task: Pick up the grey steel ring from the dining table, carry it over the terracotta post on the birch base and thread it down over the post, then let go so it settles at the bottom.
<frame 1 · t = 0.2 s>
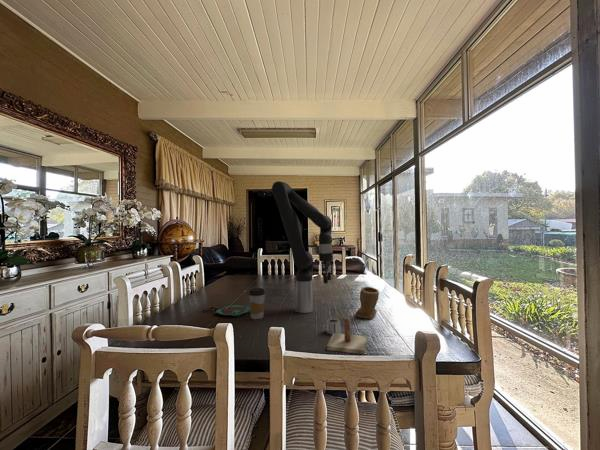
hand: (327, 281, 157), 17 cm above the table, tool pointing down, fingers open, 8 cm apart
post stand: (347, 344, 115), on the table
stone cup: (368, 316, 151), on the table
ring: (333, 332, 129), on the table
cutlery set: (227, 312, 163), on the table
coffee cup: (257, 318, 150), on the table
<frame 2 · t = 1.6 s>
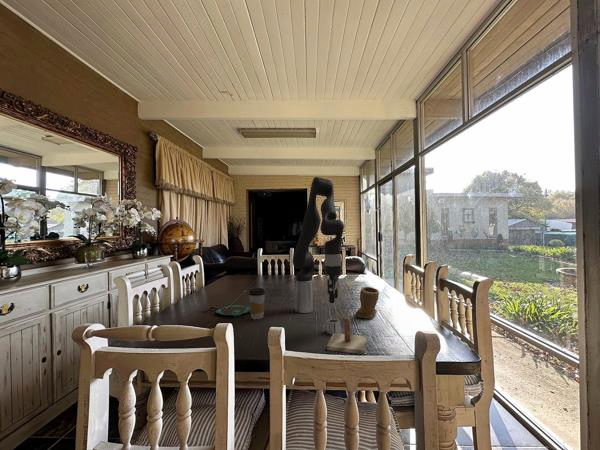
hand: (333, 300, 129), 14 cm above the table, tool pointing down, fingers open, 8 cm apart
nothing on the table moved.
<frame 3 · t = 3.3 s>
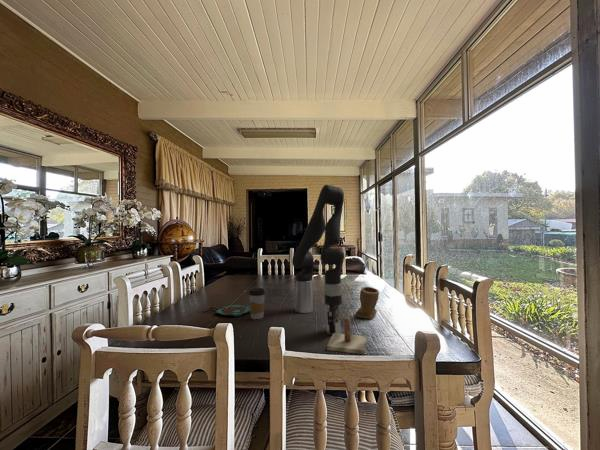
hand: (333, 330, 129), 1 cm above the table, tool pointing down, fingers closed on ring, 6 cm apart
ring: (333, 332, 129), on the table, touching gripper
everything else where it was.
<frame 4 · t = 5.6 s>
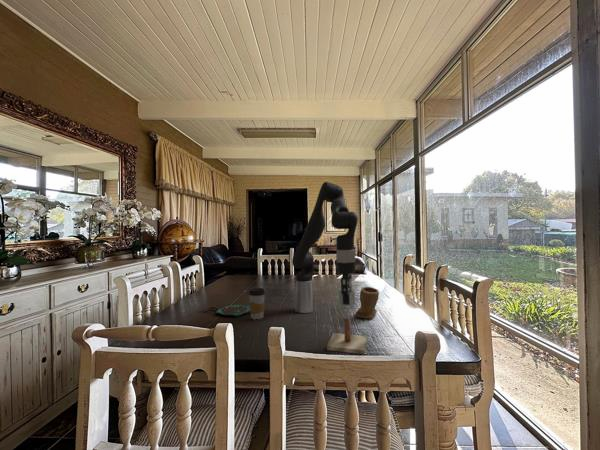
hand: (347, 302, 116), 17 cm above the table, tool pointing down, fingers closed on ring, 6 cm apart
ring: (347, 303, 116), point 16 cm above the table, touching gripper
everything else where it was.
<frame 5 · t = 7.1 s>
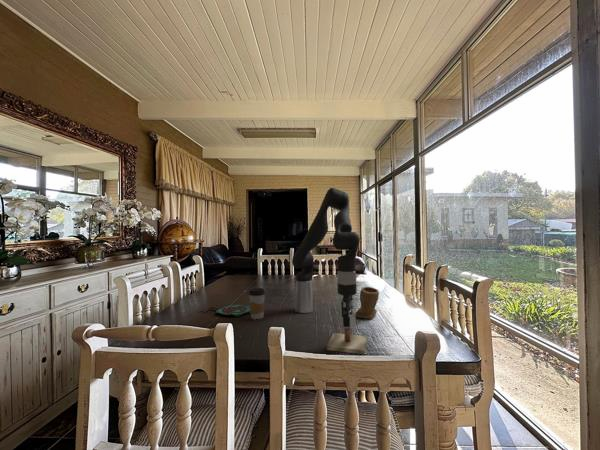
hand: (347, 323, 115), 8 cm above the table, tool pointing down, fingers closed on ring, 6 cm apart
ring: (347, 325, 115), point 8 cm above the table, touching gripper
everything else where it was.
when the fingers open (6 cm above the table, at t = 8.1 s): ring drops 4 cm, resting on post stand.
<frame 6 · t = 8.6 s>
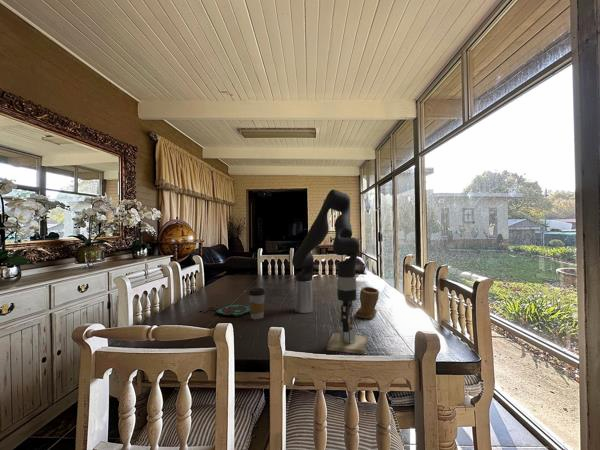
hand: (347, 328, 115), 7 cm above the table, tool pointing down, fingers open, 8 cm apart
ring: (347, 340, 115), point 1 cm above the table, touching post stand
everything else where it was.
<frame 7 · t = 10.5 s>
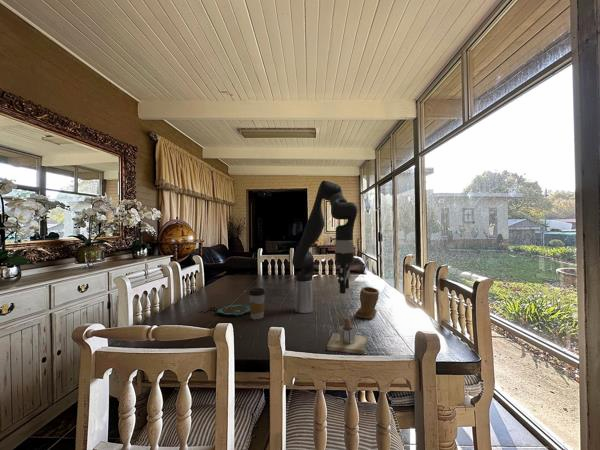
hand: (344, 290, 117), 21 cm above the table, tool pointing down, fingers open, 8 cm apart
nothing on the table moved.
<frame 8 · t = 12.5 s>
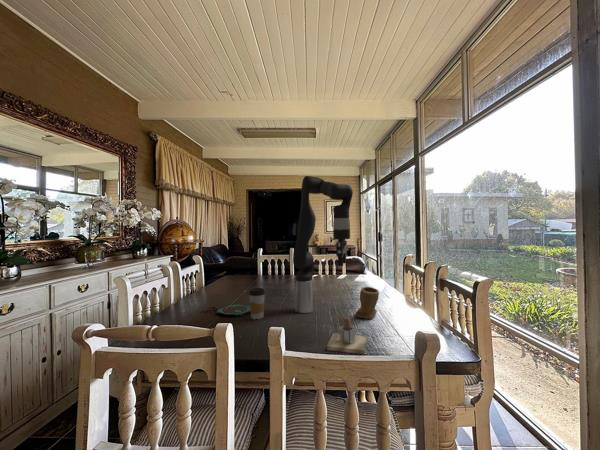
hand: (342, 264, 130), 30 cm above the table, tool pointing down, fingers open, 8 cm apart
nothing on the table moved.
at the end: ring 0.2 cm off-centre on the post stand, point 1.5 cm above the post stand's base; the gripper is holding nothing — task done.
